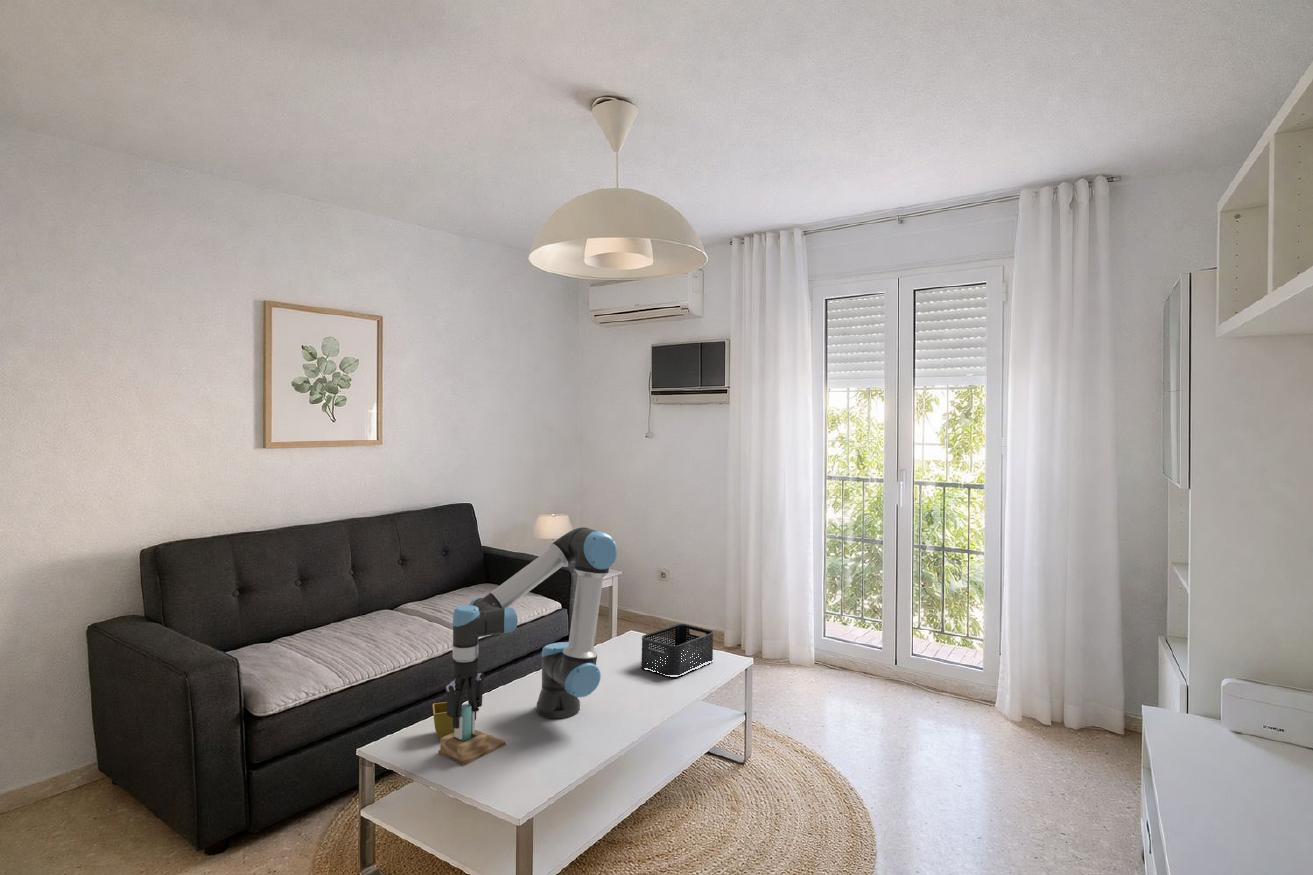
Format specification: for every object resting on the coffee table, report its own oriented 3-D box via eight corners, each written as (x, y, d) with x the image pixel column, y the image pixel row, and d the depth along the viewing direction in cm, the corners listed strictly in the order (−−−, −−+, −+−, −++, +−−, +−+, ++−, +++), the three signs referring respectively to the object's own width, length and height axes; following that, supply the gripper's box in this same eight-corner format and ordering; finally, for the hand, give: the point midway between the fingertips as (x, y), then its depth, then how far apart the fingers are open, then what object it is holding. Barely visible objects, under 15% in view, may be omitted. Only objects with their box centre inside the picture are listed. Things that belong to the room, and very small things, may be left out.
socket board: (479, 734, 220) (480, 718, 220) (505, 744, 214) (505, 728, 213) (438, 753, 207) (438, 737, 207) (464, 765, 200) (464, 748, 200)
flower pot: (432, 730, 223) (432, 703, 223) (460, 726, 226) (460, 699, 226) (433, 742, 215) (433, 713, 214) (462, 738, 218) (462, 710, 218)
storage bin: (680, 651, 304) (680, 621, 303) (716, 662, 291) (716, 630, 291) (637, 669, 282) (638, 636, 282) (674, 680, 269) (675, 646, 269)
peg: (465, 741, 211) (465, 703, 211) (473, 745, 208) (474, 706, 208) (454, 746, 208) (455, 707, 207) (463, 750, 205) (463, 710, 205)
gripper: (479, 648, 217) (478, 721, 217) (433, 663, 203) (433, 741, 203) (495, 653, 212) (494, 728, 213) (450, 668, 198) (449, 748, 199)
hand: (464, 734), depth 208 cm, fingers closed on peg, 4 cm apart
